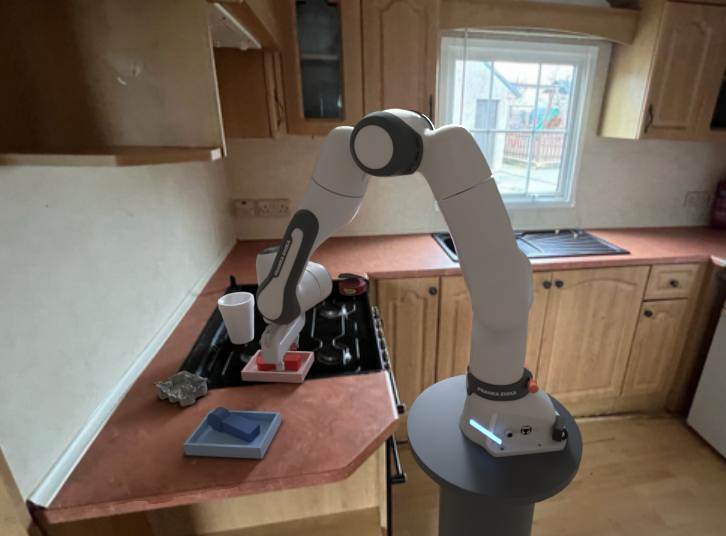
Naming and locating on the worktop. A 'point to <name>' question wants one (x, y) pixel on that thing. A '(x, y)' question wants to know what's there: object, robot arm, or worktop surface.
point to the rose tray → (298, 376)
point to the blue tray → (233, 437)
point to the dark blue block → (233, 424)
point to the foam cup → (238, 316)
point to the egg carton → (182, 388)
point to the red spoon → (291, 361)
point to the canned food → (351, 284)
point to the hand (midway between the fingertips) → (288, 359)
